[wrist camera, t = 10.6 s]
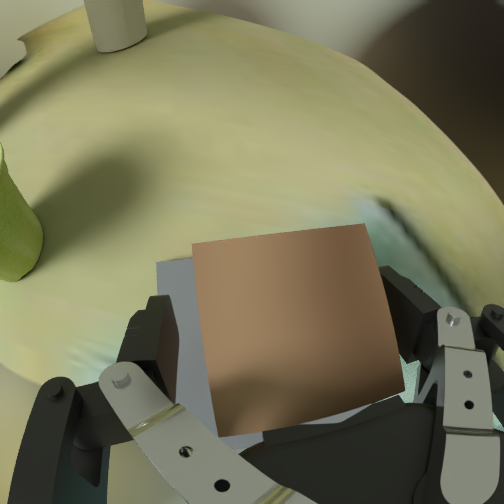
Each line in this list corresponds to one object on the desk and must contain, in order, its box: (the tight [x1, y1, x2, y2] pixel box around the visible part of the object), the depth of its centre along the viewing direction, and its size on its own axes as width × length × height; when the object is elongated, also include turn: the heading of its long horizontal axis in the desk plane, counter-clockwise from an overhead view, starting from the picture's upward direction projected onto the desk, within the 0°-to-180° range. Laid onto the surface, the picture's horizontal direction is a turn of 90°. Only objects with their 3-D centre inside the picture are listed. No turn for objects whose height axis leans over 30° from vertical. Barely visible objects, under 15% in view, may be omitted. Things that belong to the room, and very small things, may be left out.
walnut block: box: [192, 224, 405, 438], centre depth 12 cm, size 5×5×10 cm
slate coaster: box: [156, 258, 372, 450], centre depth 17 cm, size 12×12×1 cm
